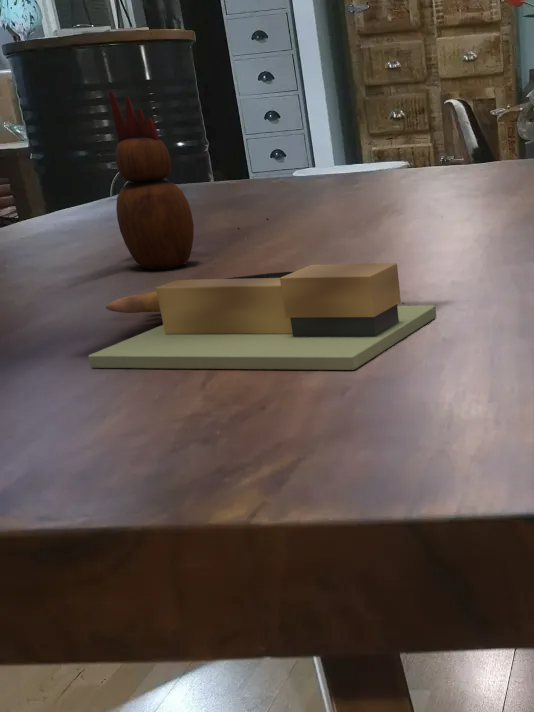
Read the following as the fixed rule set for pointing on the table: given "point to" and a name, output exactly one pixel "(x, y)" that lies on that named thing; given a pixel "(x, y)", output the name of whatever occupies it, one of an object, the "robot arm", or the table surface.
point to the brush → (287, 303)
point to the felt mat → (257, 348)
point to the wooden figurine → (149, 195)
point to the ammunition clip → (150, 299)
